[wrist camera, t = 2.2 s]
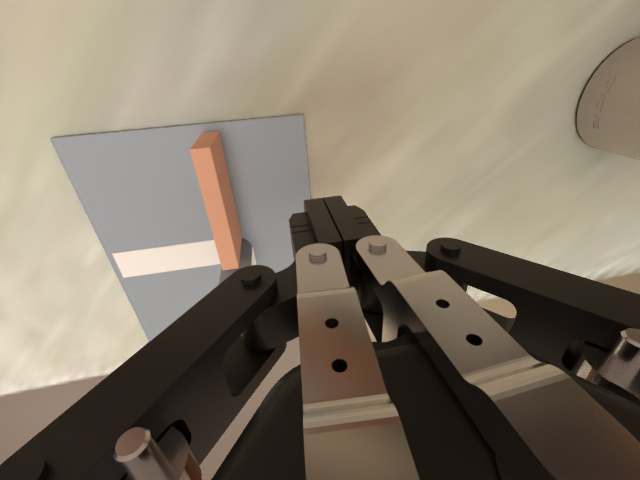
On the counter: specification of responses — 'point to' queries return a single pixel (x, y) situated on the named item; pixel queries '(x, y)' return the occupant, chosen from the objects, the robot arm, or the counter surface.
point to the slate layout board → (186, 205)
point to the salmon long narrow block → (218, 197)
